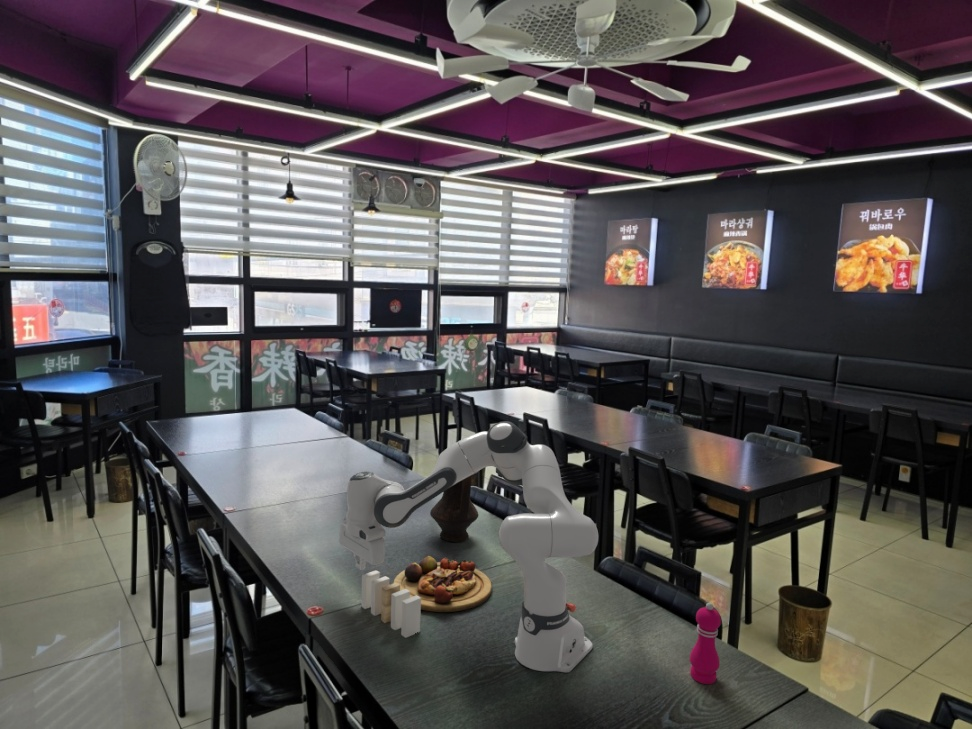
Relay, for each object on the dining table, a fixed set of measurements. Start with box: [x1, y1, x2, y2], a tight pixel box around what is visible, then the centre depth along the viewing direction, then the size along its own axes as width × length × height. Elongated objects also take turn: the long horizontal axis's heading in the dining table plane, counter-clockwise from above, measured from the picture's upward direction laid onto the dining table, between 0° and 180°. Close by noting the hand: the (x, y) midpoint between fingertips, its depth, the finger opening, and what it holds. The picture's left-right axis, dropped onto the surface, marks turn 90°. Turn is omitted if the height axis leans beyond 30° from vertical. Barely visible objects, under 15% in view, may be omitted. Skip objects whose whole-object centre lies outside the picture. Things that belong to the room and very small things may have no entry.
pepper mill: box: [689, 602, 722, 685], centre depth 160 cm, size 7×7×20 cm
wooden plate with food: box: [392, 555, 493, 613], centre depth 202 cm, size 32×32×8 cm
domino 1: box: [360, 569, 381, 610], centre depth 189 cm, size 5×2×10 cm, turn 134°
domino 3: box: [380, 582, 400, 624], centre depth 182 cm, size 5×2×10 cm, turn 134°
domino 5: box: [400, 595, 422, 639], centre depth 175 cm, size 5×2×10 cm, turn 134°
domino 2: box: [370, 575, 390, 617], centre depth 186 cm, size 5×2×10 cm, turn 134°
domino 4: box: [390, 589, 410, 631], centre depth 179 cm, size 5×2×10 cm, turn 134°
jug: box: [429, 469, 479, 543], centre depth 240 cm, size 21×18×30 cm
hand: (360, 568), depth 193 cm, fingers closed
